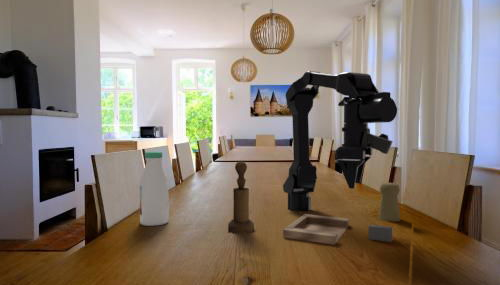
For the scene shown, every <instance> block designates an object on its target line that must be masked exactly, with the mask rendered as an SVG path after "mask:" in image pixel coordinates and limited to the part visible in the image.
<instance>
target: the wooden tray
mask: <svg viewBox="0 0 500 285" xmlns="http://www.w3.org/2000/svg"><path fill="white" fill-rule="evenodd" d="M349 220H350V218H345V217H338V216H337V217H335V216H327V215H321V214H319V215H318V214H309V213H304V214H303V215H302V216H300V217H299V218H296V220H294V221H293V222H291V223H290V224H289V225H287V226H286V227H284V228H283V230H282V233H283V234H282V237H283V238H286V239H291V240H298V241H299V240H300V241H306V242H313V243H318V244H326V245H331V246H332V245H333V246H335V245H336V244H337V243H338V242H339V240H341V238H342V236H343V234H344V233H345V232H346V230H348V227H349V226H350V221H349Z"/></svg>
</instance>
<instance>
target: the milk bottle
mask: <svg viewBox="0 0 500 285" xmlns="http://www.w3.org/2000/svg"><path fill="white" fill-rule="evenodd" d="M144 157H145V161H146V163H145V166H144V169H143V172H142V174H141V176H140V180H139V223H140V224H141V225H142V226H146V227H152V226H153V227H155V226H160V225H161V226H162V225H165V224H167V223H168V222H169V218H170V217H169V180H168V176H167V174H166V171H165V169H164V167H163V164H162V161H163V151H146V152H145V154H144Z"/></svg>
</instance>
